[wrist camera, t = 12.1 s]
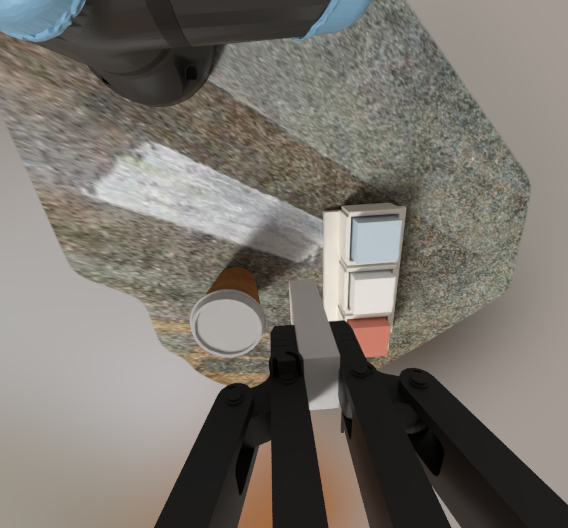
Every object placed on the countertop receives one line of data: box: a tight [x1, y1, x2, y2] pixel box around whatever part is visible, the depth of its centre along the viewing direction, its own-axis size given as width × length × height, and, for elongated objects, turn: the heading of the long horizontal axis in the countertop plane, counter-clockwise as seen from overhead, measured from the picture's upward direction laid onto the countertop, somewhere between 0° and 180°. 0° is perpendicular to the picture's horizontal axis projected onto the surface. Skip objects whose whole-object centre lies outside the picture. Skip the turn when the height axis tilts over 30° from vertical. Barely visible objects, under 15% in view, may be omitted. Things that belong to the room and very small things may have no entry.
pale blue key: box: [350, 214, 402, 264], centre depth 39 cm, size 6×6×4 cm
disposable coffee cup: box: [190, 267, 266, 357], centre depth 40 cm, size 10×10×12 cm
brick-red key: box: [347, 316, 390, 357], centre depth 45 cm, size 6×6×4 cm
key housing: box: [323, 203, 407, 348], centre depth 44 cm, size 24×12×5 cm, turn 3°
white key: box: [348, 269, 396, 315], centre depth 42 cm, size 6×6×4 cm
